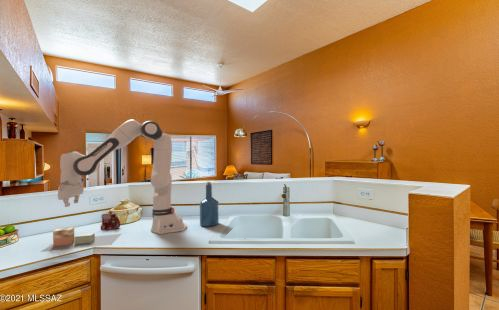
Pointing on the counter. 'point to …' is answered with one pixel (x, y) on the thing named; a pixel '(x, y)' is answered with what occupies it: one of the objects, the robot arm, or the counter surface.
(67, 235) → the maple brick
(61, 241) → the terracotta brick
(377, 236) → the counter surface
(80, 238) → the sage brick
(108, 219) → the dark brown lump
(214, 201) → the wine bottle
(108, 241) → the white flat board
